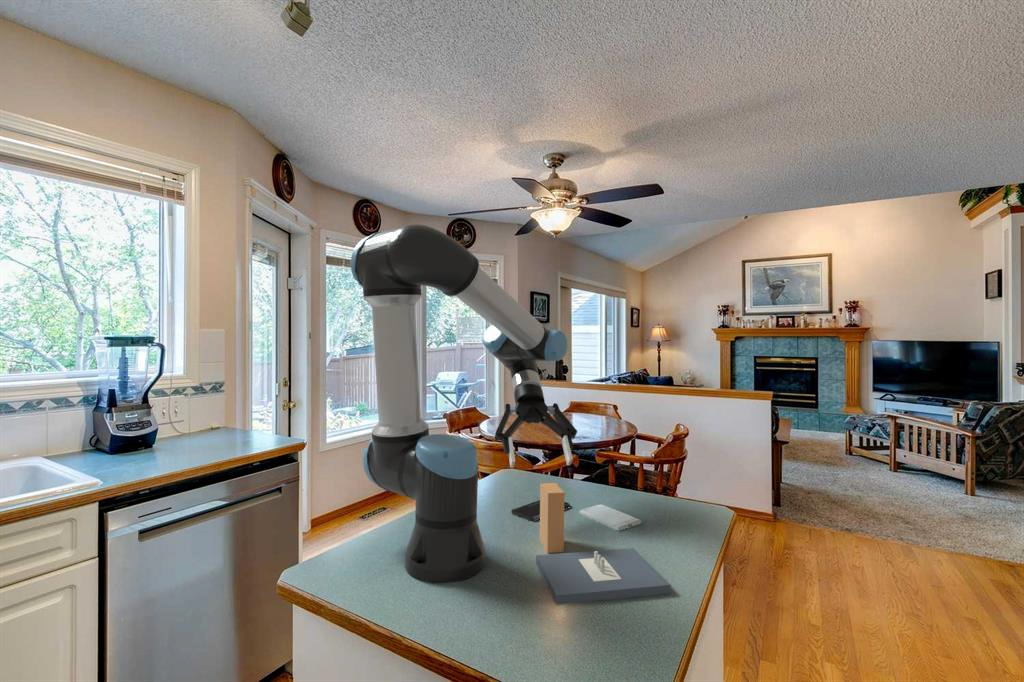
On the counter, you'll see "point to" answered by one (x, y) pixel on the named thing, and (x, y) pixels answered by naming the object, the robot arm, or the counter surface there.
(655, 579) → the header board
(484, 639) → the counter surface
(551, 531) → the tan rectangular block
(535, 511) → the phone
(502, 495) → the counter surface
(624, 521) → the hard drive
